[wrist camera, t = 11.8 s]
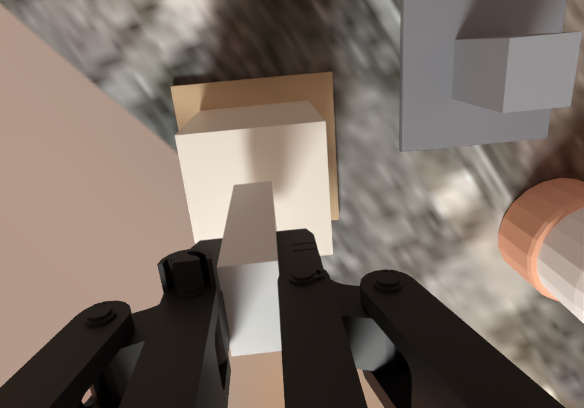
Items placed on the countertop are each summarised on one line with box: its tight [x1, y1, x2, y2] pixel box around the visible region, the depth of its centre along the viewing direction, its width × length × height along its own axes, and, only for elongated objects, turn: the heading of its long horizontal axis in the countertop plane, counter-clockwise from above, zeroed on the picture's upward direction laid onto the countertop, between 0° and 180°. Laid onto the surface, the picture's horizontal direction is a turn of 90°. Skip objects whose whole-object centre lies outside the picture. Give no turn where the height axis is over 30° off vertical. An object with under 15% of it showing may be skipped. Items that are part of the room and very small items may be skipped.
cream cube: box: [175, 100, 333, 256], centre depth 21 cm, size 6×6×7 cm
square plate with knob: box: [399, 0, 582, 152], centre depth 21 cm, size 9×9×6 cm
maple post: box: [171, 71, 339, 220], centre depth 22 cm, size 9×9×6 cm
